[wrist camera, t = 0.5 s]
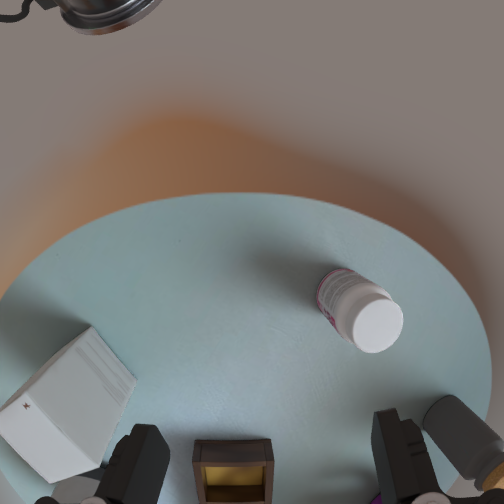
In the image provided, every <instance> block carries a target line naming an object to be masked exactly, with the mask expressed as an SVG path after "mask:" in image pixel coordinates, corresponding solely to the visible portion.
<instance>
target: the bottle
mask: <svg viewBox="0 0 504 504" xmlns="http://www.w3.org/2000/svg"><path fill="white" fill-rule="evenodd" d="M423 426H424V429H425V431H426V432H427V433H428V435H429V436H430V437H431V438H432V440H433V441H434V442H435V443H436V445H437V446H438V447H439V448H440V450H441V451H442V452H443V453H444V455H445V456H446V457H447V458H448V459H449V461H450V462H451V463H452V464H453V466H454V467H455V468H456V469H457V471H458V472H459V473H460V474H461V476H462V477H463V478H464V479H466V480H473V479H475V482H474V486H475V487H476V489H477V490H478V491H484V492H486V491H487V490H490V489H493V488H501V489H504V452H503V448H504V441H503V440H502V439H501V438H500V437H499V436H498V435H497V434H496V433H495V432H494V431H493V430H492V429H491V428H490V427H489V426H488V425H487V424H486V423H485V422H484V421H483V420H481V419H480V418H479V417H478V416H477V415H476V414H475V413H474V412H473V411H472V410H471V409H470V408H468V407H467V406H466V405H465V404H464V403H463V402H462V401H461V400H460V399H458V398H457V397H455V396H447V397H444V398H442V399H440V400H439V401H438V402H436V403H435V404H434V405H433V406H432V407H431V408H430V410H429V411H428V413H427V414H426V416H425V418H424V422H423Z"/></svg>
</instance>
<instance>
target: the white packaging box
mask: <svg viewBox="0 0 504 504" xmlns="http://www.w3.org/2000/svg"><path fill="white" fill-rule="evenodd" d="M136 384H137V379H136V378H135V377H134V376H133V375H132V374H131V373H130V372H129V371H128V369H127V368H126V367H125V366H124V365H123V364H122V362H121V361H120V360H119V359H118V358H117V357H116V355H115V354H114V353H113V352H112V351H111V349H110V348H109V347H108V346H107V344H106V343H105V342H104V341H103V339H102V338H101V337H100V336H99V334H98V333H97V332H96V330H95V329H94V328H93V327H92V326H91V327H89V328H88V329H87V330H85V331H84V332H83V333H81V334H80V335H79V336H77V337H76V338H75V339H73V340H72V341H71V342H69V343H68V344H67V345H65V346H64V347H63V348H62V349H60V350H59V351H58V352H57V353H56V354H54V355H53V356H52V357H51V358H50V359H49V360H48V361H47V362H46V363H45V364H44V365H43V366H42V367H41V368H40V369H39V370H38V371H37V372H36V373H35V374H34V375H33V376H32V377H31V378H30V379H29V380H28V381H27V382H26V383H25V384H24V385H23V386H22V387H21V388H19V389H18V390H17V391H16V392H15V393H14V395H13V396H12V397H11V398H10V399H9V400H8V401H7V402H6V403H5V404H4V405H3V406H2V407H1V408H0V435H1V436H2V437H3V438H4V439H5V440H6V441H7V442H8V443H9V444H10V445H11V447H12V448H13V449H14V450H15V451H16V452H17V453H18V454H19V455H20V456H21V457H22V458H23V459H24V460H25V461H26V462H27V463H28V464H29V465H30V466H31V467H32V468H33V469H34V470H35V471H37V472H38V473H39V474H40V475H41V476H42V477H43V478H44V479H45V480H46V481H47V482H48V483H50V484H51V483H54V482H57V481H60V480H63V479H66V478H69V477H72V476H75V475H78V474H81V473H84V472H87V471H90V470H93V469H96V468H99V467H100V465H101V462H102V459H103V457H104V454H105V452H106V449H107V447H108V445H109V442H110V440H111V438H112V436H113V434H114V431H115V429H116V427H117V425H118V423H119V421H120V418H121V416H122V414H123V412H124V410H125V408H126V405H127V403H128V401H129V399H130V397H131V394H132V392H133V390H134V388H135V386H136Z"/></svg>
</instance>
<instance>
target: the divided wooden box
mask: <svg viewBox="0 0 504 504" xmlns="http://www.w3.org/2000/svg"><path fill="white" fill-rule="evenodd" d="M192 464H193V470H194V476H195V482H196V488H197V493H198V498H199V504H272V491H273V476H274V455H273V449H272V443H271V439H264V440H195V444H194V451H193V459H192Z"/></svg>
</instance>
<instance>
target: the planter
mask: <svg viewBox="0 0 504 504" xmlns="http://www.w3.org/2000/svg"><path fill="white" fill-rule="evenodd" d="M104 471H105V469H103V468H100V467H99V468H96V469H93V470H90V471H87V472H84V473H81V474H78V475H75V476H72V477H69V478H66V479H63V480H60V481H59V482H58V484H57V485H56V487H55V489H54V491H53V493H52V495H51V497H52V498H54V499H55V500H56V501H58V502H59V503H60V504H79V503H80V502H81V501H82V500H83V499H85V498H87V497H92V496H93V495H94V494H95V492H96V490H97V488H98V485H99V483H100V481H101V478H102V476H103V474H104Z"/></svg>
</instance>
